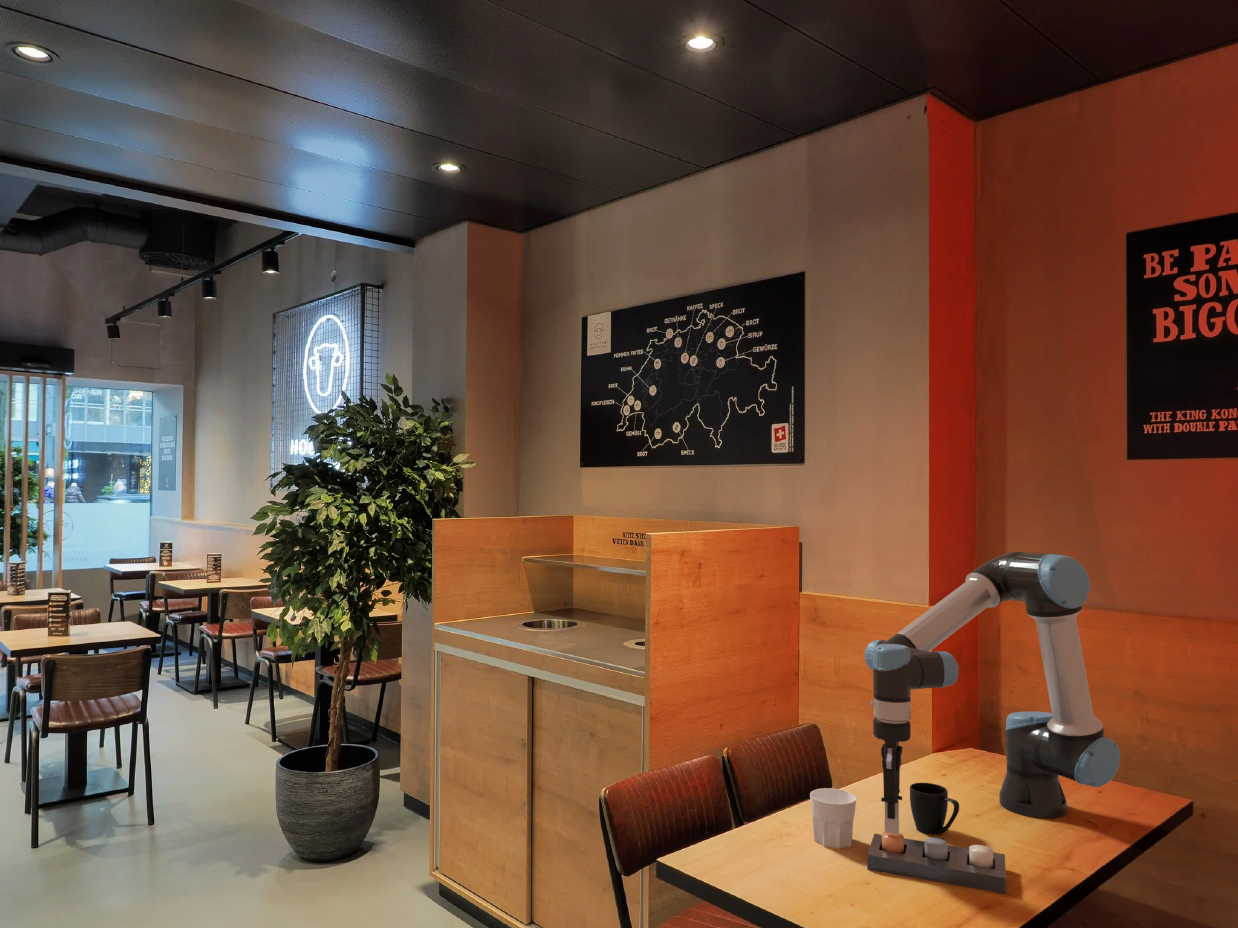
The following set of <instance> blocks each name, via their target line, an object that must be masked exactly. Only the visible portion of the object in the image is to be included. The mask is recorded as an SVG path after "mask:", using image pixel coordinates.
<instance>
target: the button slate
mask: <svg viewBox="0 0 1238 928" xmlns="http://www.w3.org/2000/svg"><path fill="white" fill-rule="evenodd" d="M924 841H925V858H930V859H936V860H942V861H948V851H947V845H948V841H946V840H944V839H941V838H937V837H928V838H925V839H924Z"/></svg>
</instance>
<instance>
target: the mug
mask: <svg viewBox="0 0 1238 928" xmlns="http://www.w3.org/2000/svg"><path fill="white" fill-rule="evenodd" d="M948 796H949V794H948V789H947V788H946V787H944V786H942V785H939V784H937V783H932V782H931V783H929V782H915V783H912V784H910V786H909V802H910V810H911V814H912V815H911V816H912V819H913V821H914V825H915V828H916V831H918V832H919V833H921V834H925V835H931V836H933V835H934V836H935V835H940V834H945V833H946V832H948V830H949V829H950V827H951V826H952V824H953V823H954V821H955V820H956V818H957V816H958V814H959V811H960V803H959V801H958V800H956V799H954V798H949V797H948ZM949 803H951V804H952V805H953V811H952V814H951V816H950V818H949V820H948V821H947V823H946V824H945V822H946V817H947V813H948V807H949V805H948V804H949ZM944 825H945V826H944Z"/></svg>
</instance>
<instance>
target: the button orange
mask: <svg viewBox="0 0 1238 928" xmlns="http://www.w3.org/2000/svg"><path fill="white" fill-rule="evenodd" d="M881 835H882V851H888V852H894V853H900V854H904V838H905V836H904V835H903V834H902V833H900V832H899V834H898V835H897V834H890V833H885V831H884V832H882V833H881Z"/></svg>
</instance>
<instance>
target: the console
mask: <svg viewBox="0 0 1238 928" xmlns="http://www.w3.org/2000/svg"><path fill="white" fill-rule="evenodd" d="M871 839H872V840H871V843H870V845H869V848H868V851H867V855H866V857H867V859H866V860H867V861H866V863H867V864H866V866H867V867H866V869H867V870H868V871H869V870H870V871H873V872H879V873H887V874H891V875H896V876H902V877H908V878H913V879H919V880H924V881H925V880H926V881H931V882H937V883H942V884H947V885H954V886H957V887H958V886H959V887H965V888H971V889H976V890H982V891H988V892H993V893H999V894H1004V895H1006V894H1007V872H1006V868H1007V867H1006V855H1005V853H1000V852H994V851H993V869H990V868H984V867H978V866H972V865H970V862H969V847H968V848H967V847H961V846H957V845H950V844H949V845H948V844H947V851H948V861H942V860H936V859H930V858H925V840H918V839H912V838H911V839H910V838H905V837H904V854H900V853H894V852H888V851H882V833H881V834H880V833H873V836H872V838H871Z"/></svg>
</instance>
